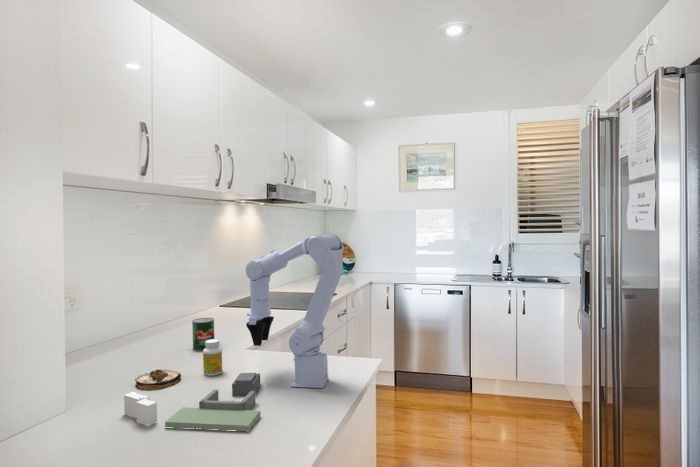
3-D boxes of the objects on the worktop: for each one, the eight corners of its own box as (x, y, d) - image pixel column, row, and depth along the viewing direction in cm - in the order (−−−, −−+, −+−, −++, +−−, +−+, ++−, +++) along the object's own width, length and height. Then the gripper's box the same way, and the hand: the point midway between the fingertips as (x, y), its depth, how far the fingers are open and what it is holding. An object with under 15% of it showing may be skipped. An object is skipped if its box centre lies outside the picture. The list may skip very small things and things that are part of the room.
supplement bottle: (203, 377, 136) (202, 344, 136) (204, 371, 142) (203, 339, 141) (222, 374, 138) (221, 342, 137) (222, 369, 143) (221, 337, 143)
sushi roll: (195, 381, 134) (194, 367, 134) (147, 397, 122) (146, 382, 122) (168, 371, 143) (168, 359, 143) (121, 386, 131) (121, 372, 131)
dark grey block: (260, 385, 129) (260, 370, 128) (254, 396, 121) (253, 380, 120) (239, 386, 129) (239, 371, 129) (232, 396, 121) (231, 381, 121)
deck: (271, 403, 115) (271, 391, 115) (248, 432, 99) (247, 419, 99) (199, 400, 118) (198, 389, 118) (165, 428, 102) (164, 415, 102)
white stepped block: (118, 413, 112) (117, 390, 112) (166, 405, 116) (165, 384, 116) (107, 439, 98) (106, 414, 98) (162, 430, 102) (162, 406, 102)
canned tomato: (201, 352, 162) (200, 323, 162) (188, 349, 167) (187, 320, 167) (219, 347, 168) (218, 319, 168) (206, 344, 173) (205, 316, 173)
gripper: (255, 295, 145) (256, 336, 145) (238, 303, 130) (239, 349, 130) (276, 295, 144) (277, 336, 144) (261, 303, 129) (262, 349, 129)
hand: (261, 342), depth 137 cm, fingers open, 5 cm apart
